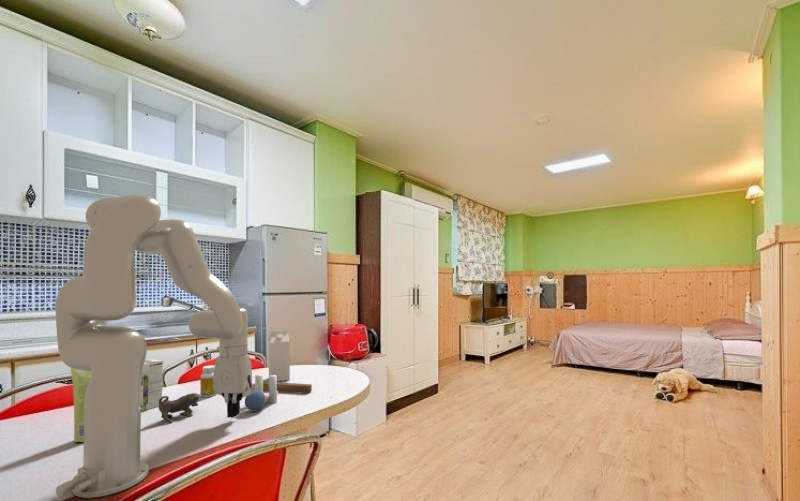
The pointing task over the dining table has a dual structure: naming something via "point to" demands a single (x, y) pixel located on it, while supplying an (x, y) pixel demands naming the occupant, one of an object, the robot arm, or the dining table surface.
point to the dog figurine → (178, 405)
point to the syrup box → (151, 384)
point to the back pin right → (272, 389)
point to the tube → (79, 401)
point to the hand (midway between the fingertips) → (233, 415)
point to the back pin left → (259, 382)
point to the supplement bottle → (207, 382)
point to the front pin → (268, 397)
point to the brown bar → (290, 387)
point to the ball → (255, 400)
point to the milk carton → (279, 355)
